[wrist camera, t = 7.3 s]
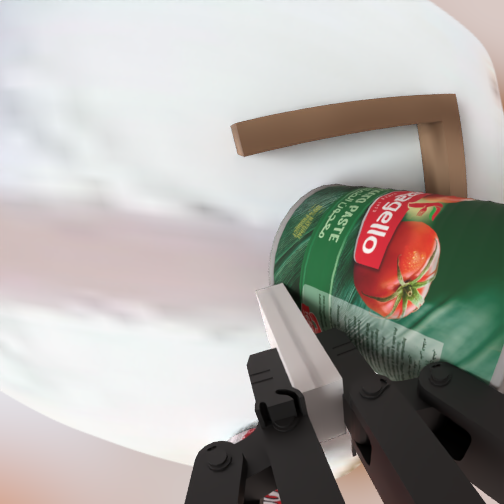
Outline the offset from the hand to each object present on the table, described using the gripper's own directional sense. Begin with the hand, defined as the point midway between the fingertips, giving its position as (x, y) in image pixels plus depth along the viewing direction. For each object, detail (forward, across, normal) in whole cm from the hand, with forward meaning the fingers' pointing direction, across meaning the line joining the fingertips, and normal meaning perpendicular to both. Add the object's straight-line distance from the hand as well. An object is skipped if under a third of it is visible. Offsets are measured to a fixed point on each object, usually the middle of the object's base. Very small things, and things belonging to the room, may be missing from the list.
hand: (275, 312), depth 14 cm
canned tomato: (+3, +4, +1) cm, 5 cm away
